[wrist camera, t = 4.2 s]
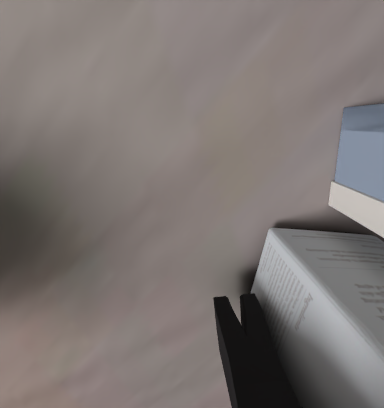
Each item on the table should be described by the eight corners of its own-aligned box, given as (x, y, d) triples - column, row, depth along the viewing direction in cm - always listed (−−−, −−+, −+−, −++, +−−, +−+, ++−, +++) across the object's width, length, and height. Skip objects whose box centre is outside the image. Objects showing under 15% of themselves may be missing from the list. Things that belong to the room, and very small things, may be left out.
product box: (240, 315, 13) (314, 538, 6) (266, 222, 11) (430, 406, 4) (334, 319, 14) (496, 522, 7) (377, 233, 11) (678, 402, 5)
